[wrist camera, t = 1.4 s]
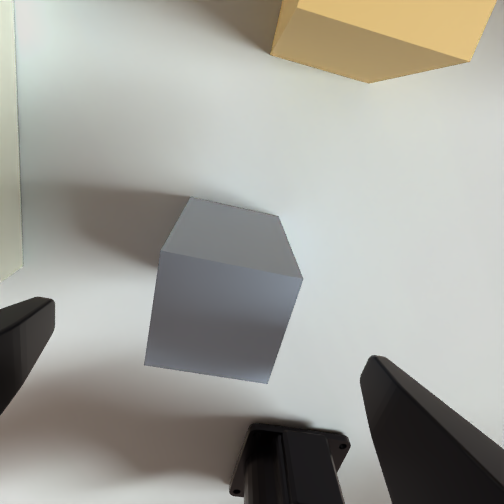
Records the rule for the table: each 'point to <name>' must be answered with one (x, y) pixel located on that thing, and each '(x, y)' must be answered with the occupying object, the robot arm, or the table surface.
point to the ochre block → (379, 35)
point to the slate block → (222, 293)
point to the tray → (9, 149)
